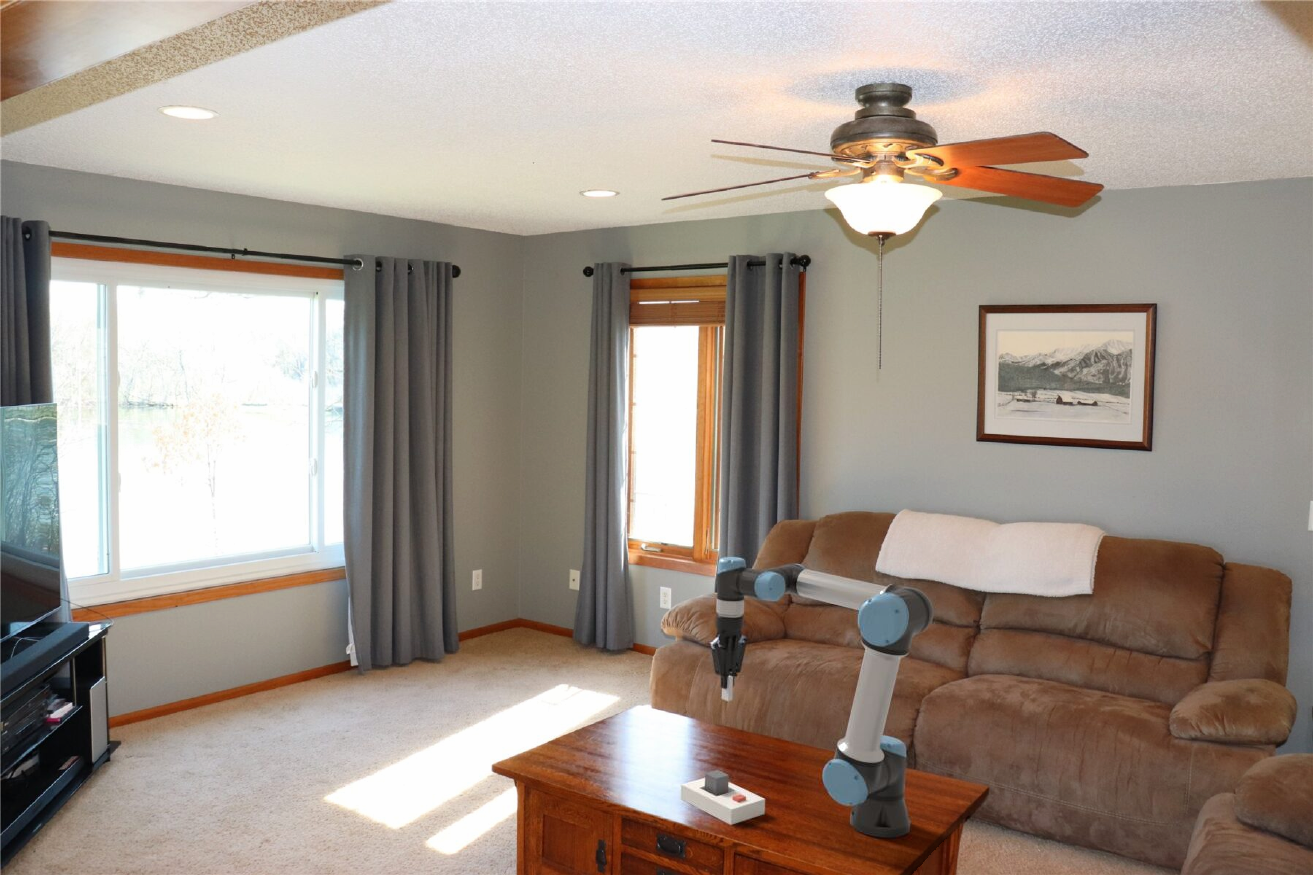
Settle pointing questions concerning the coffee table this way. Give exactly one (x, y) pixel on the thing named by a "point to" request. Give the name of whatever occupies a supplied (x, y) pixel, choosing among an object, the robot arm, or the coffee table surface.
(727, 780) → the plug
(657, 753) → the coffee table surface
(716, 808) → the socket plate
